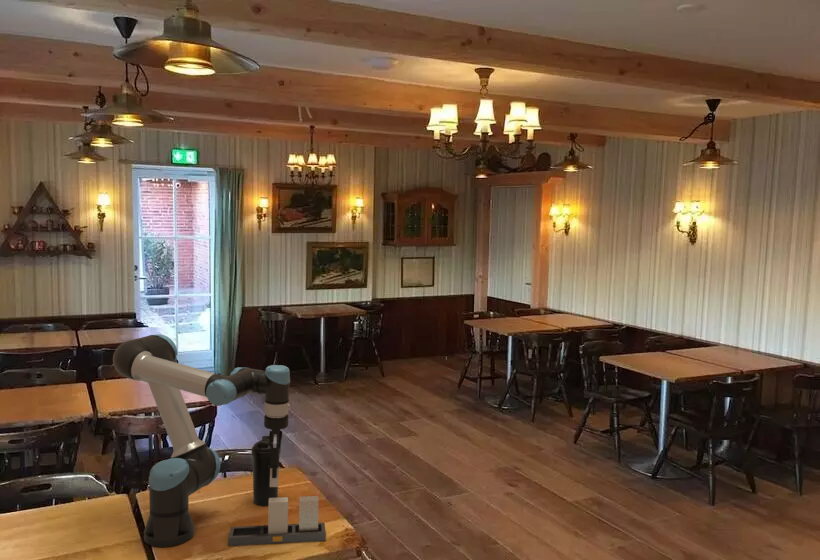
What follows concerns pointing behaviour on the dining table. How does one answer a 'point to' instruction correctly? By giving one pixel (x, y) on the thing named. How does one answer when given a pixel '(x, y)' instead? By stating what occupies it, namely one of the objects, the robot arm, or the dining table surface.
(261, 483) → the water bottle
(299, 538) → the rack
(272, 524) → the block
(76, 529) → the dining table surface
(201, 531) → the dining table surface
